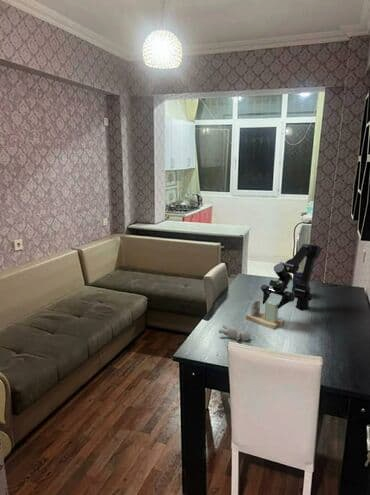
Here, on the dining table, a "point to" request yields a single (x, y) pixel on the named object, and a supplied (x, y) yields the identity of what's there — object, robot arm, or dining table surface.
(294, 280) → the storage jar
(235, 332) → the bunny figurine
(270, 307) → the sage book
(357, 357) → the dining table surface
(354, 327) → the dining table surface
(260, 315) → the tan board with upright
